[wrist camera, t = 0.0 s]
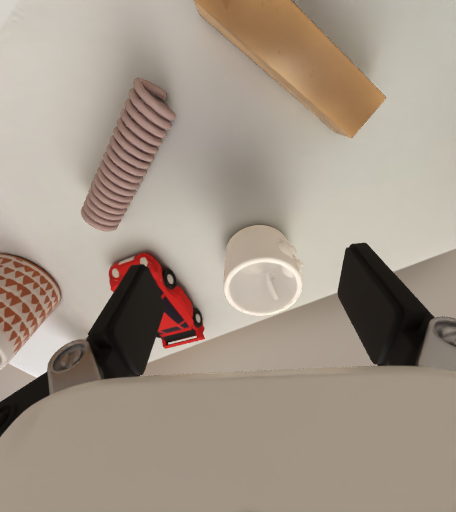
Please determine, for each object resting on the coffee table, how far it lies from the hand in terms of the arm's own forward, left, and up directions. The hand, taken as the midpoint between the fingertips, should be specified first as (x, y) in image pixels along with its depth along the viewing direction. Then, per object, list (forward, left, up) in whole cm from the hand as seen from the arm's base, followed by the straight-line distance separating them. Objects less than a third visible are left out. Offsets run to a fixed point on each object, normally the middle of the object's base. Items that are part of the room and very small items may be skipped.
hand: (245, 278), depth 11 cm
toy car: (+26, +1, -22) cm, 34 cm away
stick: (-11, -2, -21) cm, 24 cm away
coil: (+7, -12, -22) cm, 25 cm away
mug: (+9, +10, -22) cm, 25 cm away
